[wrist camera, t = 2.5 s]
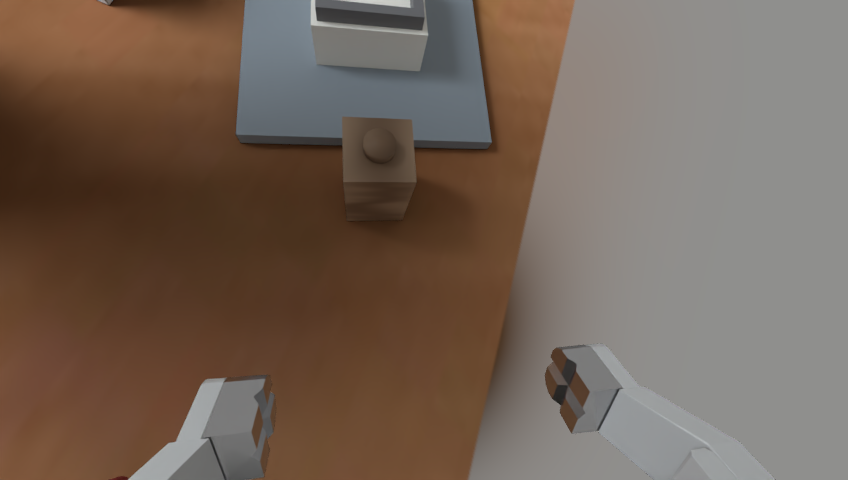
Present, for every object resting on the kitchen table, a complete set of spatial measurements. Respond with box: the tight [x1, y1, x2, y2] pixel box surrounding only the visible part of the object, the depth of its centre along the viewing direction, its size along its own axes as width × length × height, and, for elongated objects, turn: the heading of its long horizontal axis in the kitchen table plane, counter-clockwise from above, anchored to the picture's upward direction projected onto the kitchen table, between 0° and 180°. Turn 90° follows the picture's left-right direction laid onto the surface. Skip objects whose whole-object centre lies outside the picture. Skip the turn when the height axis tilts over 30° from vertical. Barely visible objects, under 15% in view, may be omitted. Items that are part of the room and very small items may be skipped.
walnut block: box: [342, 117, 417, 221], centre depth 25 cm, size 4×4×8 cm
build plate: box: [236, 0, 492, 149], centre depth 30 cm, size 21×19×7 cm
